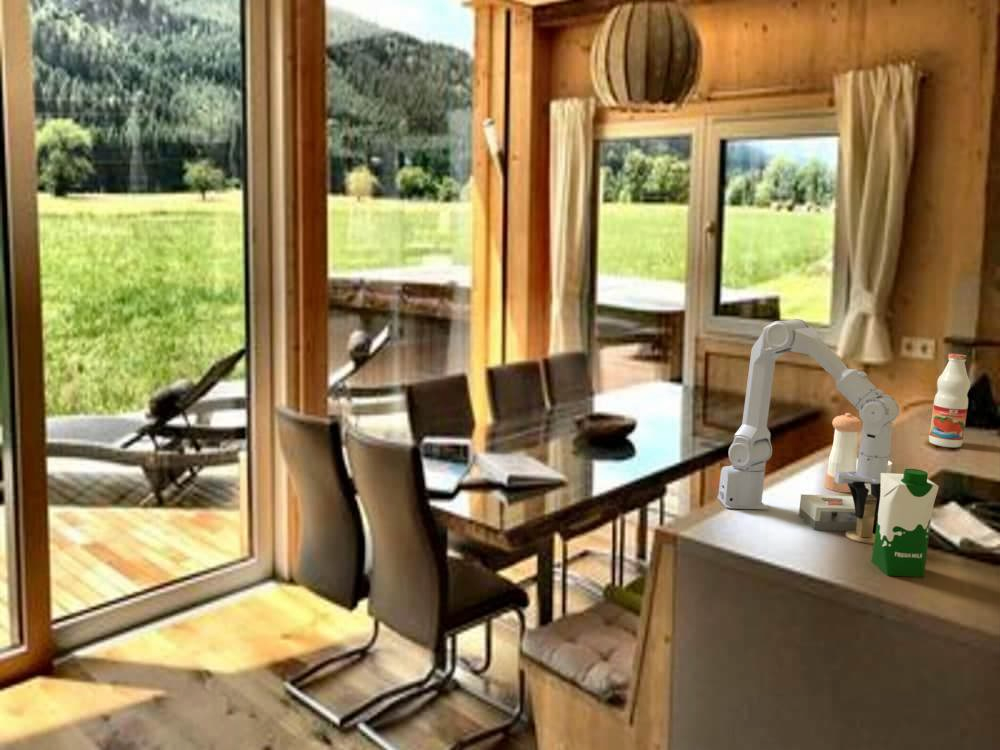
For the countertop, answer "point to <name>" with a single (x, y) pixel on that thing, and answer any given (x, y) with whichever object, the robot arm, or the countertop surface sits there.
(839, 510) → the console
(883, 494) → the milk carton
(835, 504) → the button
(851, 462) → the pepper shaker
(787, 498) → the countertop surface
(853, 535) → the coaster
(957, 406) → the fruit juice
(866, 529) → the stick
